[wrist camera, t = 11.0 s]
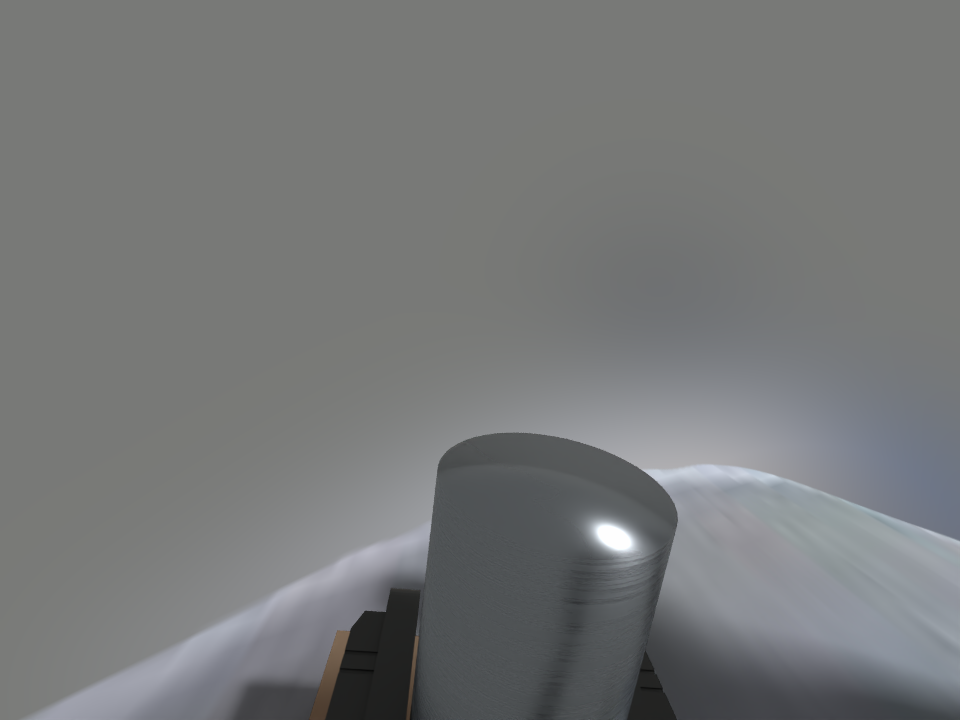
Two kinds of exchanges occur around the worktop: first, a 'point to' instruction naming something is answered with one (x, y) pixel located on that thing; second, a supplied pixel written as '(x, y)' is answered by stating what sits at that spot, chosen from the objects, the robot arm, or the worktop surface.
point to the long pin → (538, 581)
